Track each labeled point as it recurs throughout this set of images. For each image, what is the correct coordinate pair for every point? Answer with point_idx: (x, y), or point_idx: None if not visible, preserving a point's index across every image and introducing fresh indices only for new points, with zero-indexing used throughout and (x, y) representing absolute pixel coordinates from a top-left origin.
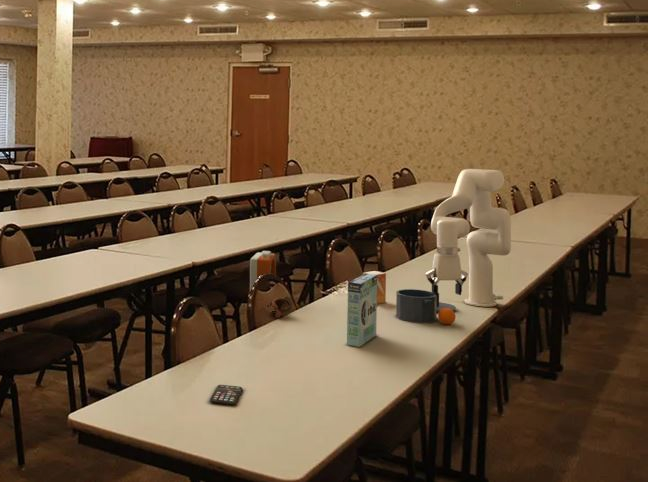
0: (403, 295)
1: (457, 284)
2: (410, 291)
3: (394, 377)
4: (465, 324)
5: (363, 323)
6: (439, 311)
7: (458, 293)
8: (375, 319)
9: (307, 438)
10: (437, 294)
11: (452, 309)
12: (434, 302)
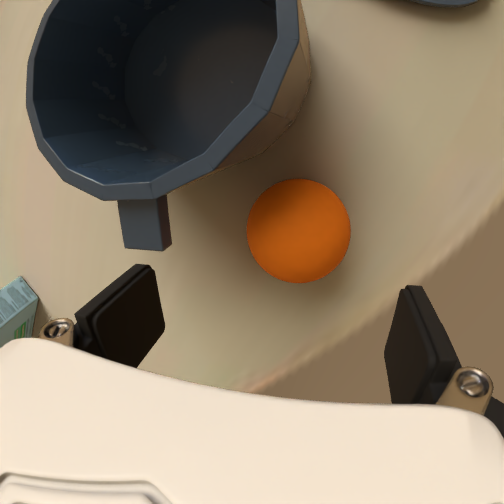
0: (32, 127)
1: (416, 398)
2: None
3: None
4: (398, 236)
5: None
6: (251, 221)
7: (387, 347)
8: (10, 326)
9: None
10: (157, 334)
11: (465, 2)
12: (233, 161)
